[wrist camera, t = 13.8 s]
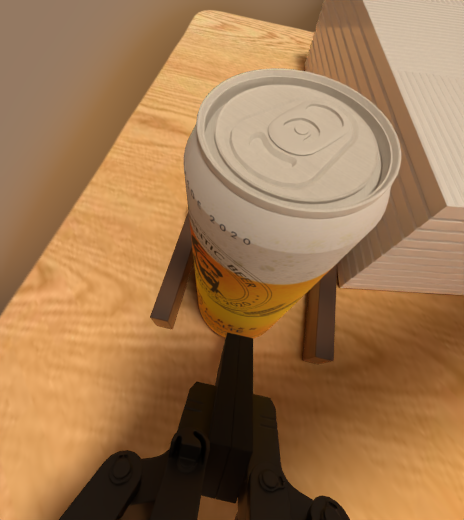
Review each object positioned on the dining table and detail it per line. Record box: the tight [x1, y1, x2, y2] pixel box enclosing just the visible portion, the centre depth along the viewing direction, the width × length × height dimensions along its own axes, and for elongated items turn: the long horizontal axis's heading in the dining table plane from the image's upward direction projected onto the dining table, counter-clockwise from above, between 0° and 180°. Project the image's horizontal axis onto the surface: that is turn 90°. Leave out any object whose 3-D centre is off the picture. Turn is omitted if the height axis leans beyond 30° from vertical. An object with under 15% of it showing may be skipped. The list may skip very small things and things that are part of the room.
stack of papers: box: [305, 0, 464, 295], centre depth 24 cm, size 32×11×11 cm, turn 178°
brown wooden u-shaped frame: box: [150, 211, 337, 364], centre depth 19 cm, size 10×12×5 cm
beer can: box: [184, 68, 401, 339], centre depth 13 cm, size 6×6×15 cm
